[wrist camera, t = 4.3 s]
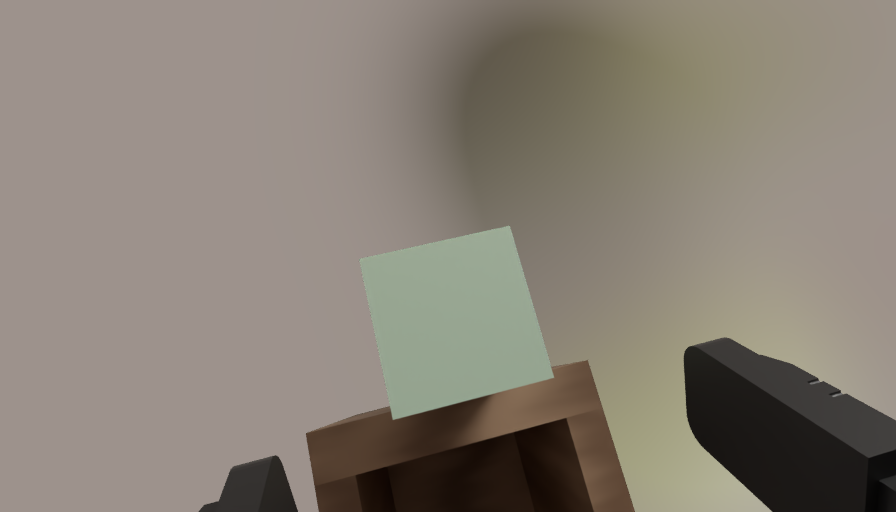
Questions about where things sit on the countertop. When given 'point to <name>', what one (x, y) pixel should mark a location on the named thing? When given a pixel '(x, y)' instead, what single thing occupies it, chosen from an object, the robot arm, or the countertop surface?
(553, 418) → the wooden bin
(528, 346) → the sage bar
